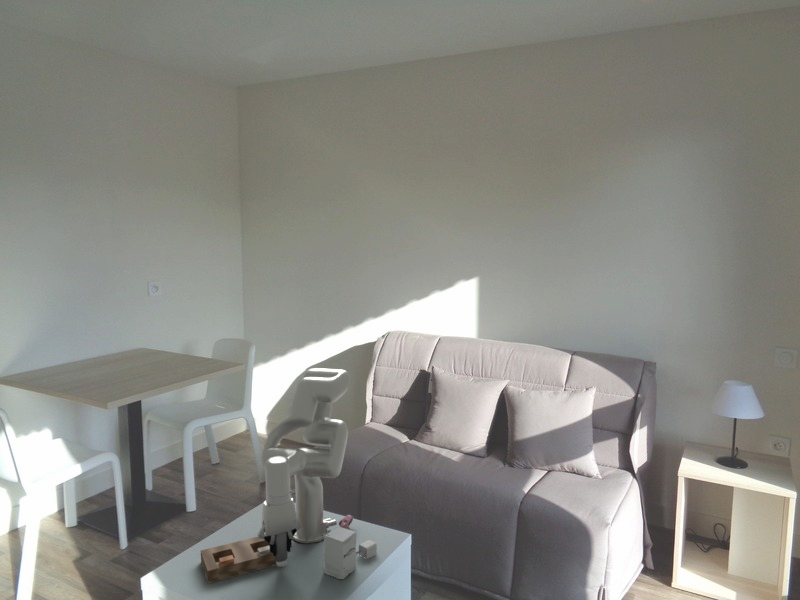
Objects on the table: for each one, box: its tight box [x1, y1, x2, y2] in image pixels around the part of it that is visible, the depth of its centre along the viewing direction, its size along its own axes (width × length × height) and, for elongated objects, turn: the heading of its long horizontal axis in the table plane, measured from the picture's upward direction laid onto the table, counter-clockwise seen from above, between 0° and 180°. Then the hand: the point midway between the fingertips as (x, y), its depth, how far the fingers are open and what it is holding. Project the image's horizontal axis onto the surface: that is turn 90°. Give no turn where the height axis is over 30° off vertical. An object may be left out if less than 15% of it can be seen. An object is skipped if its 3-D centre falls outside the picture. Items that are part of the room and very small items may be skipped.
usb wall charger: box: [356, 539, 378, 559], centre depth 192 cm, size 4×7×4 cm, turn 137°
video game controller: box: [338, 514, 354, 530], centre depth 207 cm, size 10×5×7 cm, turn 169°
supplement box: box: [323, 525, 357, 580], centre depth 183 cm, size 7×7×13 cm
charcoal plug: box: [274, 532, 289, 568], centre depth 183 cm, size 4×4×12 cm
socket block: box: [200, 536, 277, 584], centre depth 188 cm, size 24×13×6 cm, turn 118°
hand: (280, 551), depth 183 cm, fingers closed on charcoal plug, 4 cm apart
